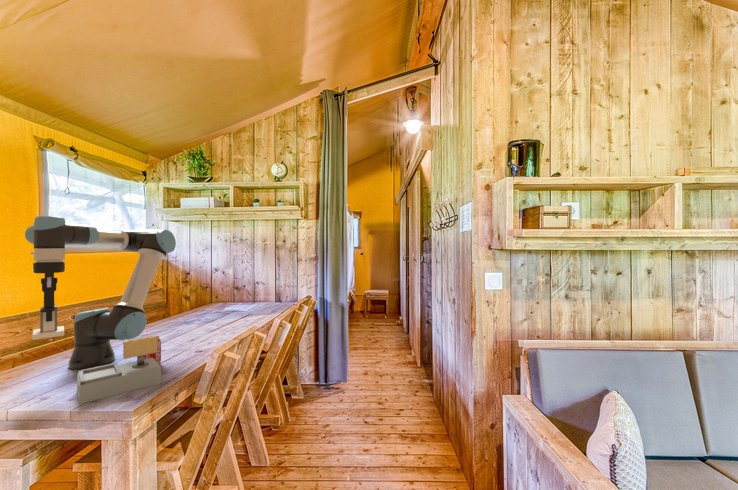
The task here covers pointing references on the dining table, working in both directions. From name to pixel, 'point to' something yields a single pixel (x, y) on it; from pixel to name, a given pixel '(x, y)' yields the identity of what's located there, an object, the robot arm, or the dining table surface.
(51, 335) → the cover
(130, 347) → the tan sign on stand
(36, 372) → the dining table surface
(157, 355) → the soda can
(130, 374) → the case
